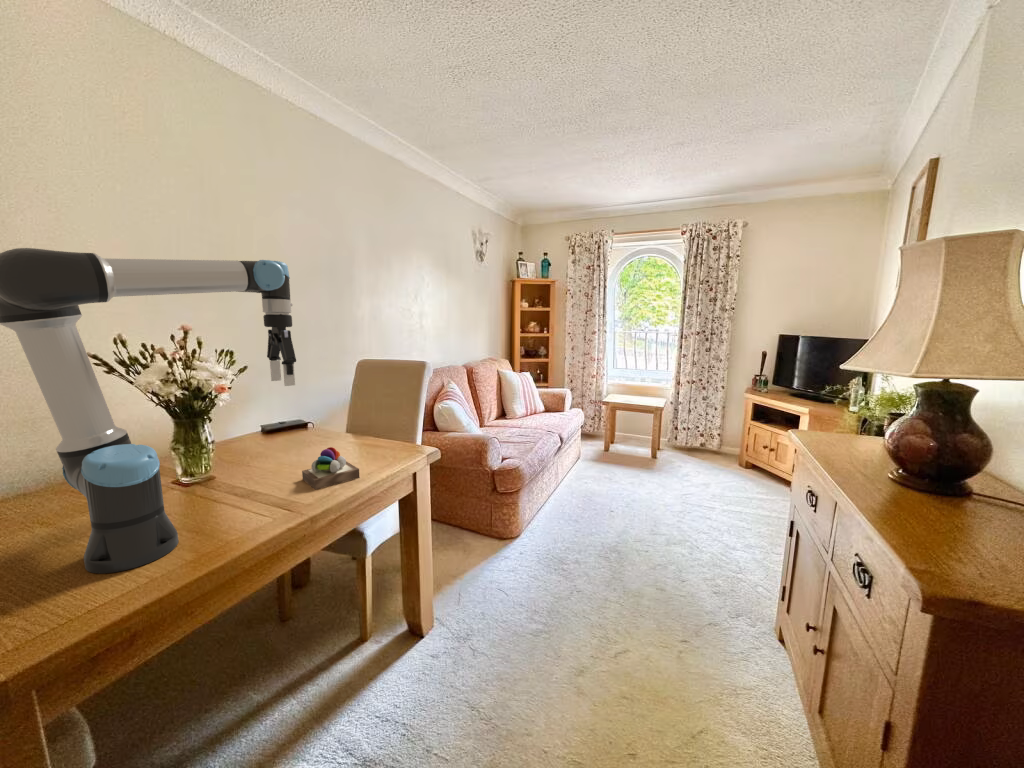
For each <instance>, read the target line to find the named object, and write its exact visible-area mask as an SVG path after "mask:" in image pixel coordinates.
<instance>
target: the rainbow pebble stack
mask: <svg viewBox="0 0 1024 768" xmlns="http://www.w3.org/2000/svg"><path fill="white" fill-rule="evenodd" d="M319 455H320V456H318V457H317V459H315V460H314V461H313V462H312V463H311V469H312V470H313V471H314V472H319V471H320V470H329V469H330V471H331V472H332V473H335V472H337V471H338V470H339V468H342V467H344V466H345V464H346V462H347V460H346V459H347V458H345V457H344V456H343V455H341V453H340V451H338V450H337V449H336V448H335V447H333V446H332V447H331V446H330V447H327V448H326V449H323V450H321V452H320V454H319Z"/></svg>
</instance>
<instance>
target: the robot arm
mask: <svg viewBox="0 0 1024 768" xmlns="http://www.w3.org/2000/svg"><path fill="white" fill-rule="evenodd" d="M290 279H291V278H290V272H289V267H288V264H287V263H286V262H284V261H281V260H280V261H278V260H270V259H259V260H226V259H225V260H224V259H222V260H221V259H220V260H219V259H218V260H216V259H214V260H213V259H167V258H166V259H161V258H160V259H158V258H157V259H155V258H153V259H152V258H151V259H150V258H104V257H101V256H100V255H99V254H97V253H95V252H76V251H75V252H73V251H62V250H61V251H60V250H52V249H45V248H34V247H33V248H32V247H18V248H13V249H9V250H4V251H3V252H0V326H3V327H5V328H8V329H9V330H13V331H14V332H15V334H16V336H17V338H18V341H19V343H20V345H21V347H22V350H23V352H24V354H25V357H26V359H27V361H28V364H29V366H30V368H31V370H32V372H33V375H34V378H35V380H36V382H37V385H38V386H39V389H40V391H41V393H42V395H43V398H44V400H45V403H46V405H47V407H48V409H49V411H50V414H51V416H52V418H53V421H54V424H55V425H56V427H57V430H58V432H59V434H60V436H61V441H60V443H59V444H58V445H57V446H56V447H55V450H56V452H57V455H58V459H60V462H61V464H62V468H61V469H62V474H63V475H62V476H63V479H64V480H65V481H66V482H67V484H69V486H71V488H74V489H75V490H77V491H79V492H80V493H81V494H82V495H83V496H84V497H85V498H86V503H87V508H88V512H89V513H88V515H89V520H90V526H91V531H90V535H89V538H88V541H87V545H86V549H85V551H84V554H83V555H84V556H83V562H84V563H83V564H84V569H85V570H86V571H87V572H89V573H92V574H112V573H118V572H123V571H126V570H127V571H128V570H131V569H135V568H138V567H141V566H144V565H146V564H149V563H151V562H153V561H154V562H155V561H156V560H158V559H160V558H163V557H164V556H165V555H168V554H169V553H171V552H172V551H173V550H174V549H175V548H176V547H177V546H178V544H179V533H178V531H177V529H176V528H175V525H174V524H173V522H172V521H171V520H170V518H169V515H168V514H167V513H166V510H165V504H164V496H163V488H162V479H161V471H160V466H161V463H160V459H159V457H158V453H157V451H156V450H155V448H153V447H151V446H149V445H147V444H140V443H139V444H135V443H132V442H131V439H130V436H129V433H128V432H127V429H124V428H121V427H118V426H116V424H115V422H114V419H113V417H112V415H111V412H110V409H109V406H108V404H107V402H106V399H105V396H104V394H103V391H102V389H101V386H100V384H99V381H98V379H97V376H96V374H95V371H94V368H93V365H92V363H91V361H90V358H89V355H88V353H87V350H86V349H85V346H84V343H83V341H82V340H83V339H82V338H81V336H80V333H79V331H78V328H77V326H76V325H77V323H78V321H79V320H80V319H81V318H82V316H83V315H82V312H81V309H80V307H79V305H87V304H96V303H97V304H98V303H108V302H110V300H112V299H113V298H116V297H117V298H118V297H120V298H121V297H140V296H163V295H166V296H167V295H183V294H184V295H187V294H209V293H234V292H235V293H236V292H239V293H256V294H261V306H262V312H263V325H264V327H265V328H271V329H267V333H268V334H267V336H268V338H267V339H268V340H267V352H266V357H267V359H268V360H269V368H270V369H269V370H270V381H271V382H277V381H282V372H281V371H283V382H284V384H283V385H284V387H289V386H296V377H295V365H294V364H295V363H296V362H297V357H296V354H295V349H294V345H293V341H292V335H291V334H292V333H291V330H290V329H289V330H287V328H291V327H293V316H292V315H291V313H292V307H293V305H294V304H293V303H291V288H290V287H291V285H290ZM280 354H281V356H280ZM281 358H282V359H281ZM281 365H282V369H283V370H281Z"/></svg>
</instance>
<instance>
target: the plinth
mask: <svg viewBox="0 0 1024 768" xmlns="http://www.w3.org/2000/svg"><path fill="white" fill-rule="evenodd" d="M301 473H302V475H301V477H302V480H303V481H304V482H305V483H306V484H308V485H309V486H310V487H311V488H313V489H314V490H319V489H323V488H327V487H330V486H333V485H338V484H342V483H345V482H349V481H353V480H357V479H360V468H358V467H356V466H355V465H354V464H352V463H349V462H348V461H346V464H345V466H344V467H342V468H339V470H338V471H337V472H335V473H332V472H331V471H330V469H329V470H320V471H319V472H314V471H313V470H312V468H308V469H305V470H301Z"/></svg>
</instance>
